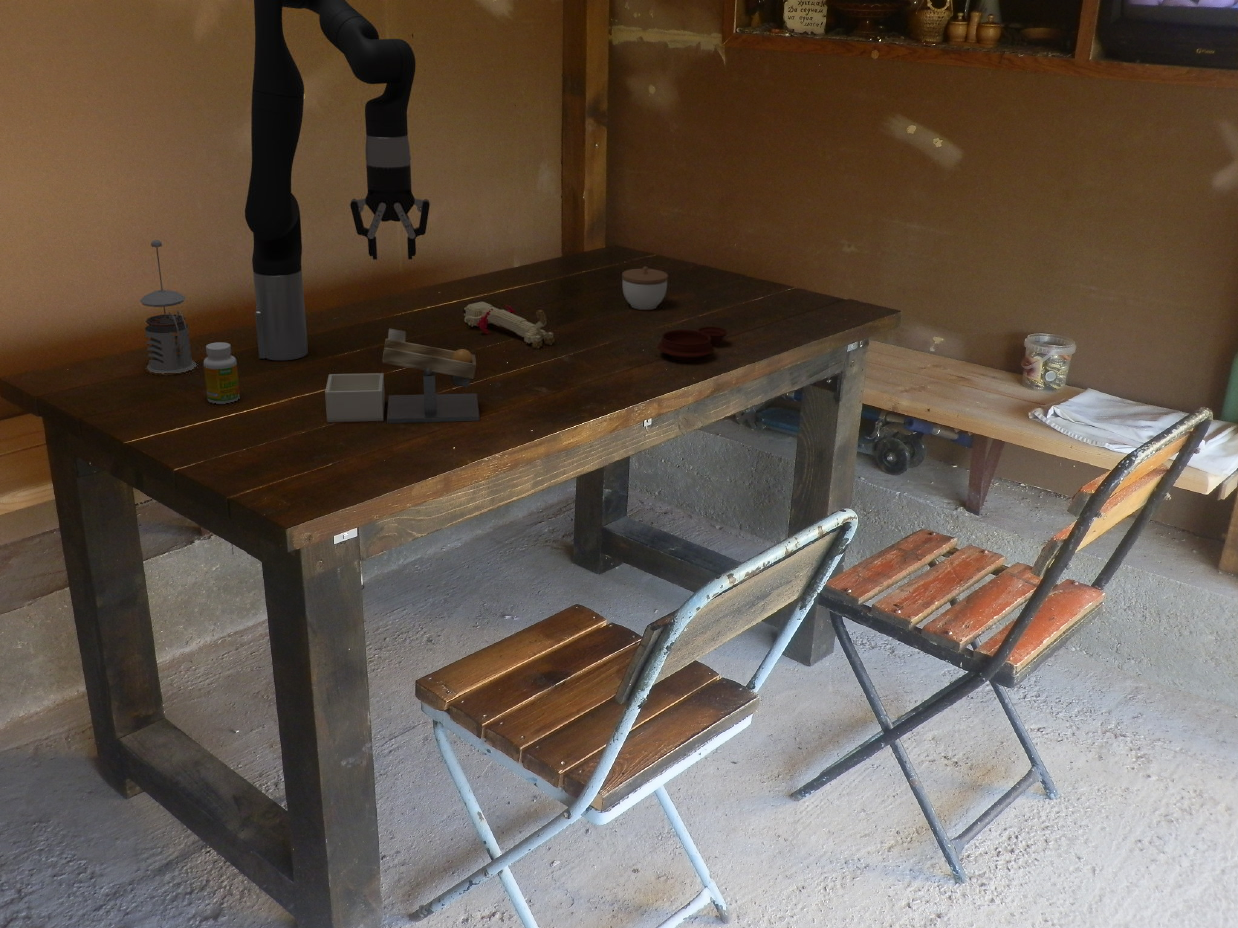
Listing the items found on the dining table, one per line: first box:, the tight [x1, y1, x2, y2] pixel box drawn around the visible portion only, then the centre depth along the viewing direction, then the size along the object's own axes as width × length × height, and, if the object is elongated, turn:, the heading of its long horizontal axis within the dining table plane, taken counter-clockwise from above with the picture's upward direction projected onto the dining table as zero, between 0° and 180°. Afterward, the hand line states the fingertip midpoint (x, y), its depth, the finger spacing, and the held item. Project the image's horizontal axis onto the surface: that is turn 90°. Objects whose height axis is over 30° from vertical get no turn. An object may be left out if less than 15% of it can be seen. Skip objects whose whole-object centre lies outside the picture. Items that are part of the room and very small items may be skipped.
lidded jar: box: [621, 266, 669, 311], centre depth 281 cm, size 11×11×9 cm
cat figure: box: [462, 301, 556, 350], centre depth 258 cm, size 10×9×25 cm
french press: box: [139, 239, 198, 374], centre depth 228 cm, size 10×12×25 cm
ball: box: [452, 348, 472, 363], centre depth 213 cm, size 4×4×4 cm
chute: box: [382, 328, 477, 388], centre depth 216 cm, size 16×15×4 cm
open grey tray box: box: [324, 372, 386, 423], centre depth 213 cm, size 10×10×6 cm
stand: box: [386, 370, 480, 424], centre depth 215 cm, size 16×12×8 cm
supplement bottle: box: [203, 342, 241, 405], centre depth 216 cm, size 6×6×10 cm
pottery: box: [657, 326, 728, 362], centre depth 252 cm, size 12×20×4 cm, turn 146°
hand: (392, 258), depth 213 cm, fingers open, 5 cm apart
